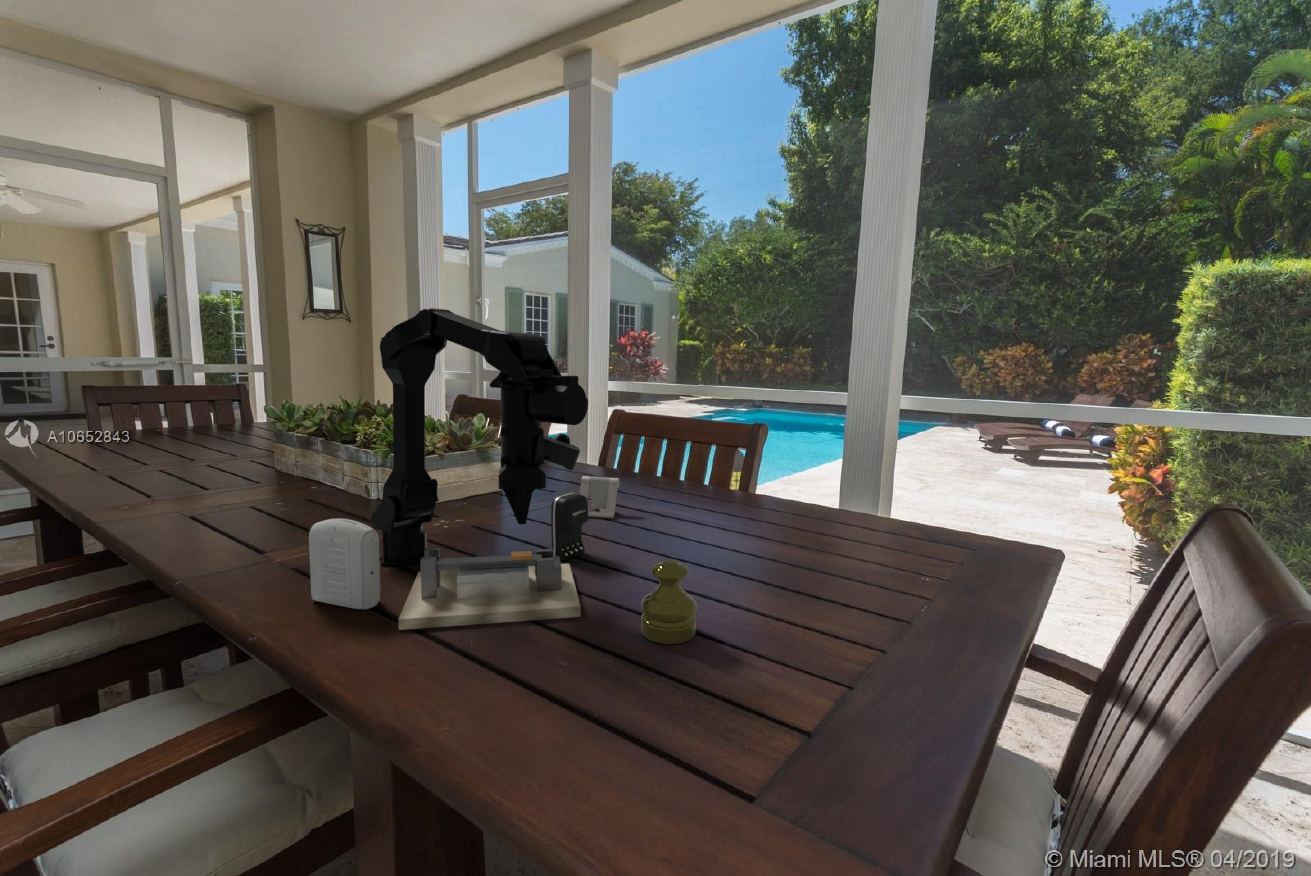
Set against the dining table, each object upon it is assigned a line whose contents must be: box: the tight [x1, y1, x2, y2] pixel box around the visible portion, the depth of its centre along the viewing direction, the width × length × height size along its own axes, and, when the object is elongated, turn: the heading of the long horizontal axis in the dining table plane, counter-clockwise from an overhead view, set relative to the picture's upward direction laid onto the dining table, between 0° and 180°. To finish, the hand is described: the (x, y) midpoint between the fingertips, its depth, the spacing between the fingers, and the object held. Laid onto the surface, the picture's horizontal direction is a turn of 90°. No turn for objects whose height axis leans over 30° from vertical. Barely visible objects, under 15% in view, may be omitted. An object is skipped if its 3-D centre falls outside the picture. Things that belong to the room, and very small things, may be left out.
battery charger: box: [550, 492, 589, 561], centre depth 111 cm, size 7×4×11 cm, turn 148°
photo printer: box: [308, 518, 381, 610], centre depth 89 cm, size 10×4×12 cm, turn 73°
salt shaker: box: [640, 558, 698, 645], centre depth 81 cm, size 7×7×10 cm
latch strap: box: [436, 550, 542, 576], centre depth 91 cm, size 17×2×3 cm, turn 103°
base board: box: [398, 563, 582, 631], centre depth 92 cm, size 24×18×2 cm
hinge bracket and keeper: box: [419, 547, 562, 599], centre depth 92 cm, size 20×5×6 cm, turn 103°
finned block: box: [457, 566, 529, 601], centre depth 92 cm, size 10×8×4 cm
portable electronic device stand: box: [579, 475, 621, 519], centre depth 141 cm, size 9×8×8 cm
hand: (522, 523), depth 92 cm, fingers closed
